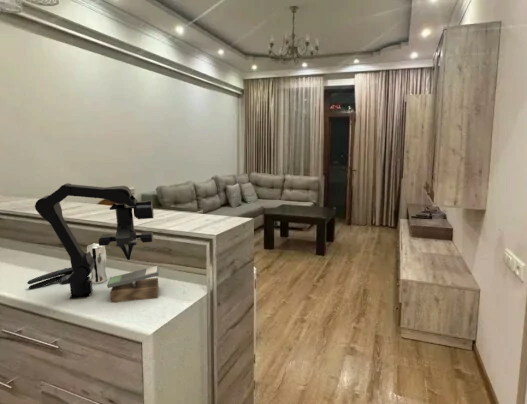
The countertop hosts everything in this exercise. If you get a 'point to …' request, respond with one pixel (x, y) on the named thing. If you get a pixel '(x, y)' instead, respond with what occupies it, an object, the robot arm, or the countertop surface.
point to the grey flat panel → (133, 276)
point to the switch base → (135, 290)
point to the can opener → (51, 278)
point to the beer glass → (98, 263)
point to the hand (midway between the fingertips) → (128, 259)
